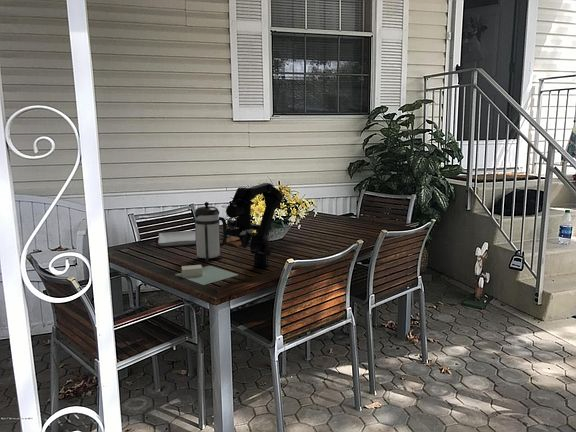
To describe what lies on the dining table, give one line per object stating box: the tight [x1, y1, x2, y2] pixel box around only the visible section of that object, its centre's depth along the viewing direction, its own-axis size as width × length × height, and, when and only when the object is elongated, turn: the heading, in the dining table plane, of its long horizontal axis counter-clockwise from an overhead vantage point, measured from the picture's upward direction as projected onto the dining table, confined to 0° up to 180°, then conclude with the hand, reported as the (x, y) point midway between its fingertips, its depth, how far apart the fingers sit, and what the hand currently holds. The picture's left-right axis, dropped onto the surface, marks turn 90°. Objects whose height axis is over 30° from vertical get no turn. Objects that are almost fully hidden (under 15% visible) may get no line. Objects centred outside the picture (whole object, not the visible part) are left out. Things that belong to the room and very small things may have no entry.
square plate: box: [157, 230, 196, 247], centre depth 281 cm, size 27×27×4 cm
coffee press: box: [193, 201, 228, 263], centre depth 240 cm, size 17×16×30 cm
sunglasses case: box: [225, 235, 250, 248], centre depth 274 cm, size 18×7×7 cm
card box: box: [181, 264, 203, 277], centre depth 212 cm, size 4×6×9 cm
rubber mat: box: [174, 265, 239, 286], centre depth 212 cm, size 20×22×1 cm
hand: (244, 248), depth 214 cm, fingers closed
